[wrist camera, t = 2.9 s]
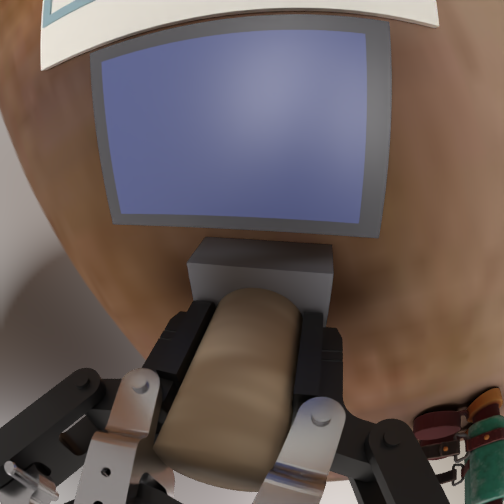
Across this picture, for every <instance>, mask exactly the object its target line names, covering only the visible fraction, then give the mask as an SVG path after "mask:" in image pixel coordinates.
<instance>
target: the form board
mask: <svg viewBox="0 0 504 504" xmlns="http://www.w3.org/2000/svg"><path fill="white" fill-rule="evenodd" d="M272 11H325V12H341V13H352V14H362V15H370V16H377V17H383V18H390V19H395V20H401V21H406V22H411V23H415V24H420V25H424V26H428V27H432V28H437V27H439V20H438V11H437V4H436V0H43V7H42V21H41V71H42V70H48V69H50V68H52V67H54V66H56V65H58V64H60V63H62V62H65V61H67V60H69V59H71V58H74V57H76V56H78V55H81V54H83V53H85V52H88V51H90V50H93V49H95V48H98V47H101V46H103V45H106V44H109V43H112V42H115V41H118V40H121V39H124V38H127V37H130V36H133V35H136V34H140V33H143V32H147V31H151V30H154V29H158V28H162V27H166V26H170V25H175V24H179V23H184V22H189V21H194V20H200V19H206V18H212V17H219V16H226V15H235V14H244V13H256V12H272Z"/></svg>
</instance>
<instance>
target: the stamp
mask: <svg viewBox="0 0 504 504" xmlns="http://www.w3.org/2000/svg"><path fill="white" fill-rule="evenodd" d="M187 267H188V273H189V279H190V284H191V290H192V295H193V300H199V301H207V302H214V304H215V309H216V310H215V312H214V314H213V317H212V319H211V321H210V323H209V325H208V327H207V330H206V332H205V334H204V336H203V338H202V340H201V343H200V345H199V347H198V349H197V351H196V353H195V356H194V358H193V360H192V362H191V364H190V367H189V369H188V371H187V373H186V375H185V377H184V380H183V382H182V384H181V386H180V388H179V391H178V393H177V395H176V397H175V399H174V402H173V404H172V406H171V408H170V410H169V413H168V415H167V417H166V419H165V422H164V424H163V426H162V428H161V430H160V433H159V435H158V437H157V439H156V442H155V444H154V446H153V450H154V451H155V453H156V454H157V455H158V457H159V458H160V459H161V460H162V461H163V462H164V464H165V465H167V466H168V467H169V468H171V469H173V470H174V471H176V472H178V473H180V474H182V475H184V476H187V477H189V478H192V479H194V480H197V481H199V482H203V483H206V484H209V485H212V486H216V487H220V488H225V489H230V490H237V491H247V492H258V491H259V490H260V488H261V486H262V484H263V482H264V480H265V478H266V476H267V474H268V472H269V471H270V469H271V468H273V466H274V465H275V463H276V461H277V459H278V456H279V454H280V452H281V450H282V448H283V445H284V443H285V441H286V439H287V436H288V434H289V432H290V429H291V423H292V417H293V407H292V400H293V392H294V385H295V378H296V371H297V363H298V356H299V348H300V340H301V331H302V322H303V313H304V312H317V313H323V327H326V323H327V317H328V310H329V304H330V297H331V290H332V282H333V275H334V272H333V253H332V245H328V244H313V243H298V242H283V241H267V240H251V239H234V238H217V237H205V238H204V239H203V241H202V242H201V244H200V245H199V246H198V248H197V249H196V250H195V252H194V253H193V254H192V256H191V257H190V259H189V260H188V261H187Z"/></svg>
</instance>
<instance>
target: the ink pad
mask: <svg viewBox="0 0 504 504" xmlns="http://www.w3.org/2000/svg"><path fill="white" fill-rule="evenodd" d="M90 69H91V85H92V98H93V108H94V118H95V126H96V134H97V142H98V148H99V155H100V161H101V167H102V173H103V178H104V184H105V189H106V194H107V199H108V204H109V208H110V213H111V217H112V222H113V224H118V225H150V226H176V227H200V228H222V229H242V230H260V231H278V232H294V233H310V234H325V235H340V236H354V237H367V238H379V234H380V227H381V221H382V214H383V206H384V199H385V190H386V181H387V171H388V160H389V147H390V131H391V105H392V67H391V41H390V26H389V22H387V21H381V20H374V19H366V18H357V17H347V16H334V15H311V14H285V15H262V16H249V17H238V18H229V19H221V20H214V21H208V22H202V23H196V24H191V25H186V26H181V27H176V28H171V29H167V30H163V31H159V32H155V33H151V34H147V35H144V36H140V37H137V38H133V39H130V40H127V41H124V42H121V43H118V44H115V45H112V46H109V47H106V48H103V49H101V50H98V51H95V52H93V53H90Z"/></svg>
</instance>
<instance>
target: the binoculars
mask: <svg viewBox="0 0 504 504" xmlns="http://www.w3.org/2000/svg"><path fill="white" fill-rule="evenodd" d="M502 404H503V400H502V396H501V392H500V389H499V388H493V389H490V390H488V391H487V392H485V393H483V394H482V395H480V396H479V397H478V398H477V399H475V400H474V402H473V403H472V404H471V405H470V406H469V407H468V408H467V410H462V411H458V412H456V411H437V412H431V413H427V414H424V415H421V416H419V417H417V418H416V419H415V420H414V425H413V433H414V435H415V437H416V439H419V440H420V446H421V448H422V450H423V452H424V454H425V456H426V457H427V459H428V460H438V459H442V458H446V457H449V456H454V461H455V462H456V463H459V462H461V461H463V460H464V461H465V466H464V465H463V464H454V465H453V466H452V470H451V471H448V472H445V473H442V474H438V475H436V477H437V479H438V481H439V483H440V484H443V483H446V482H450V481H452V485H453V486H456V485H457V484H459V483H461V482H462V481H463V480H464V477H465V504H502V502H503V500H504V417H503V416H501V415H500V412H499V408H500V407H501V406H502ZM461 415H465V416H466V419H467V421H468V422H473V425H471V426H470V428H469V429H467V430H466V431H465V433H456V432H458V431H459V430H460V427H461ZM460 438H464V440H465V447H466V452H467V453H466V455H465V456H464V457H462V458H460V459H457V455H459V454H460ZM455 466H461V467H462V469H461V477H462V479H461V480H460V481H459V482H457V483H455V484H454V480H456V475H457V470H456V469H455Z"/></svg>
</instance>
